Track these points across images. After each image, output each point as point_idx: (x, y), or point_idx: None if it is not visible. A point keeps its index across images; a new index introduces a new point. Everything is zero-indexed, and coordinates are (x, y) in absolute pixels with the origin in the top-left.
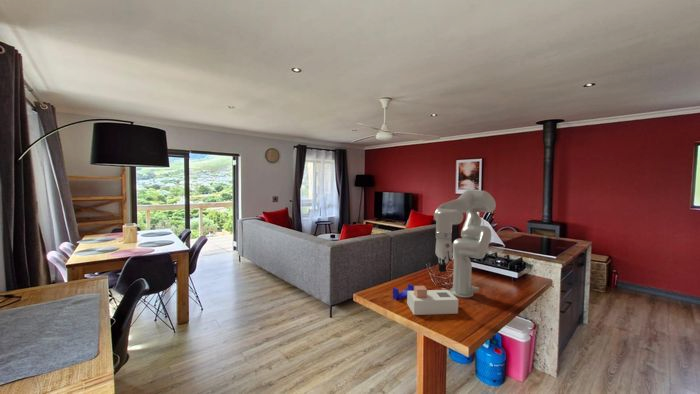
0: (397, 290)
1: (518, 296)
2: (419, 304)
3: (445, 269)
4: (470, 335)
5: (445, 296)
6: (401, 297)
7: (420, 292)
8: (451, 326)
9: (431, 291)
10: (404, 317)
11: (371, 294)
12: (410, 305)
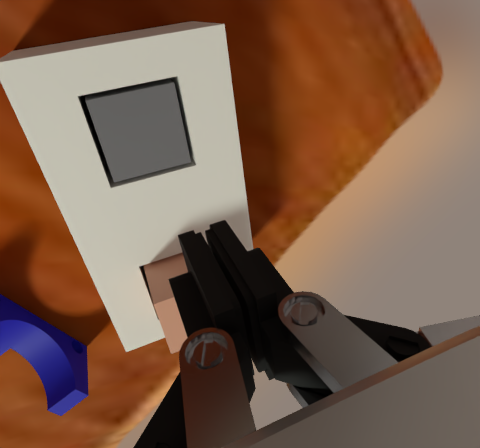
0: (81, 387)
1: None
2: None
3: (238, 243)
4: (400, 31)
5: (177, 124)
6: (58, 335)
7: None
8: (327, 104)
9: (94, 220)
10: None
11: (50, 441)
12: None
